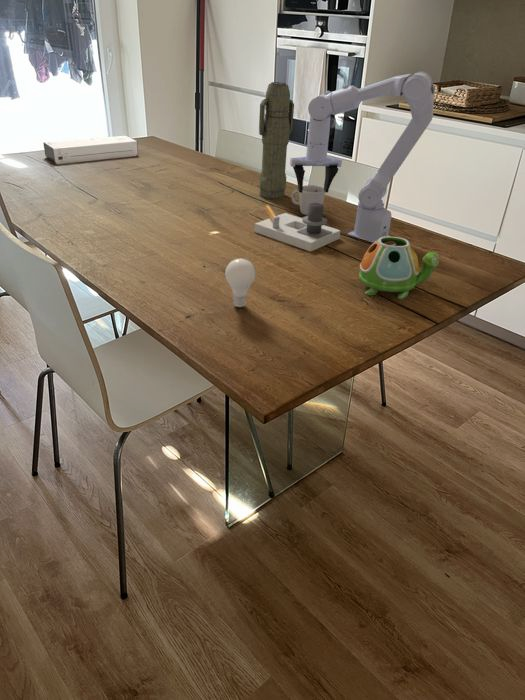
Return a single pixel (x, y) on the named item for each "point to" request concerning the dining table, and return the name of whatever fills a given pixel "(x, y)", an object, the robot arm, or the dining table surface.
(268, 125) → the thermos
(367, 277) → the turtle holder
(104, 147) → the laminator
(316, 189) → the cup
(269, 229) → the socket board
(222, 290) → the dining table surface
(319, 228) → the plug
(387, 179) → the robot arm
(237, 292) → the lightbulb
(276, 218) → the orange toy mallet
